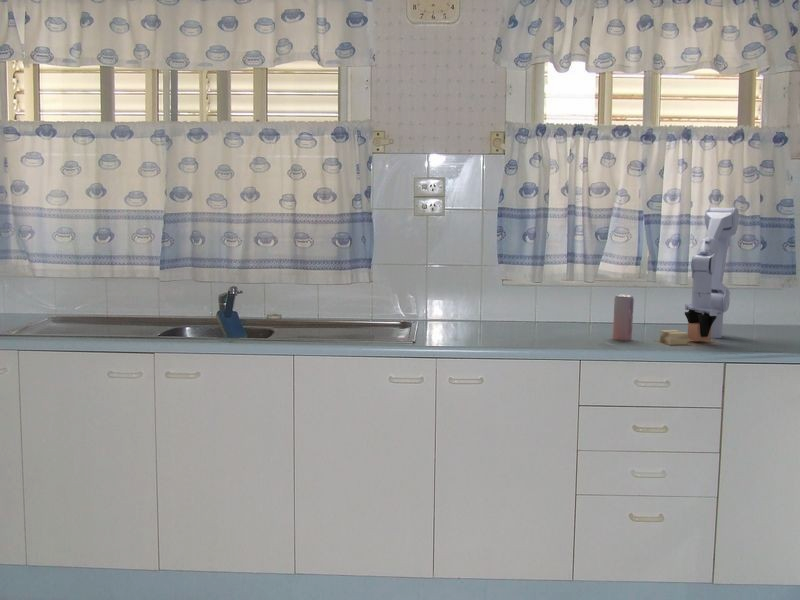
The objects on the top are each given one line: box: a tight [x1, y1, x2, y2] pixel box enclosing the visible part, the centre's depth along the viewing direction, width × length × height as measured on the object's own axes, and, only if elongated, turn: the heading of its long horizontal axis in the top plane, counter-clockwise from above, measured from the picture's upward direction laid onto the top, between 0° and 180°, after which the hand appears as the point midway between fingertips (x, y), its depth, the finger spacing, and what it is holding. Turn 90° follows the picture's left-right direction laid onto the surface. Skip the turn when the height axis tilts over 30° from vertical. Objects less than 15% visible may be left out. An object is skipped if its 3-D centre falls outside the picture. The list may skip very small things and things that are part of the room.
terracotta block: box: [687, 322, 712, 341], centre depth 265 cm, size 5×5×5 cm
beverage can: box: [612, 294, 635, 342], centre depth 268 cm, size 6×6×15 cm
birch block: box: [659, 329, 688, 345], centre depth 263 cm, size 6×6×4 cm
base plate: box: [654, 339, 720, 347], centre depth 264 cm, size 10×18×1 cm, turn 104°
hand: (699, 335), depth 265 cm, fingers closed on terracotta block, 5 cm apart
